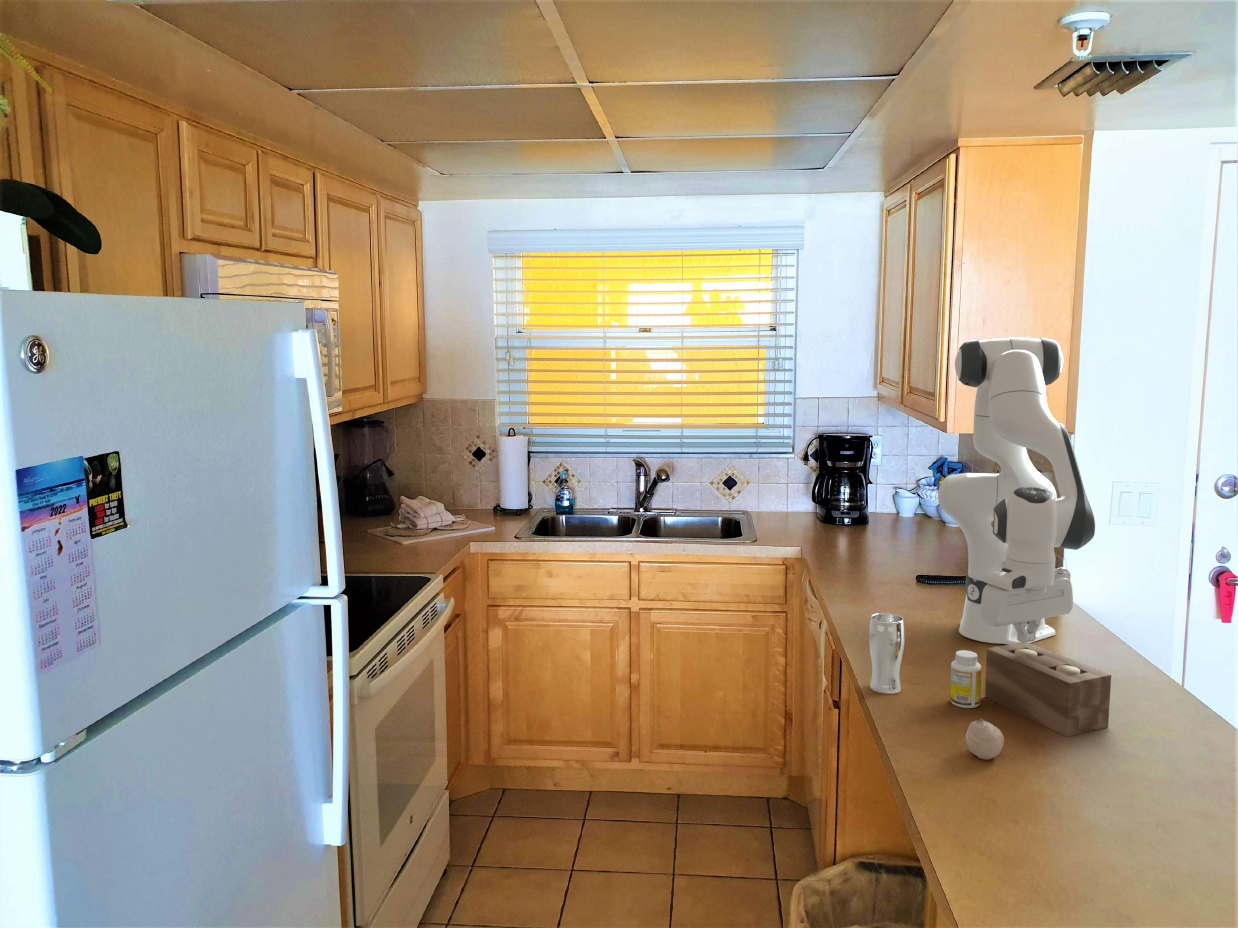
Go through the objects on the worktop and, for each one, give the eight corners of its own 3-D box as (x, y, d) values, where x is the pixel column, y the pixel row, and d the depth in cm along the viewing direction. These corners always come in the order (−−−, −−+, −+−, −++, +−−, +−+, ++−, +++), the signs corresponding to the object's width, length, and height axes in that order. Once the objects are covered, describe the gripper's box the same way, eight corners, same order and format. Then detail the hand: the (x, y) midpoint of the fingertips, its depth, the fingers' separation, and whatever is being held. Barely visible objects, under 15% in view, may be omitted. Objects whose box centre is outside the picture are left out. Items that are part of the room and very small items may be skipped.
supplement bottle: (971, 697, 183) (973, 647, 181) (985, 708, 177) (987, 657, 176) (944, 698, 182) (946, 649, 181) (957, 709, 177) (959, 659, 175)
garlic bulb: (955, 751, 159) (957, 708, 158) (983, 744, 162) (985, 701, 161) (984, 767, 153) (986, 722, 152) (1013, 760, 156) (1015, 715, 155)
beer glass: (861, 689, 188) (863, 618, 186) (877, 679, 193) (879, 610, 191) (893, 697, 183) (895, 625, 181) (909, 687, 188) (911, 617, 186)
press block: (1023, 688, 187) (1025, 641, 185) (1108, 726, 168) (1111, 674, 167) (984, 696, 183) (986, 648, 182) (1067, 736, 164) (1070, 683, 163)
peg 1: (1023, 691, 183) (1025, 647, 181) (1039, 698, 179) (1041, 653, 178) (1008, 694, 181) (1010, 650, 180) (1024, 701, 177) (1026, 656, 176)
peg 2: (1064, 709, 173) (1067, 663, 172) (1082, 717, 170) (1085, 670, 168) (1048, 713, 172) (1051, 667, 171) (1066, 721, 168) (1068, 674, 167)
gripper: (1056, 562, 183) (1053, 628, 185) (976, 574, 176) (973, 643, 178) (1083, 569, 178) (1079, 638, 180) (1001, 583, 170) (998, 654, 172)
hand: (1026, 641), depth 179 cm, fingers closed
